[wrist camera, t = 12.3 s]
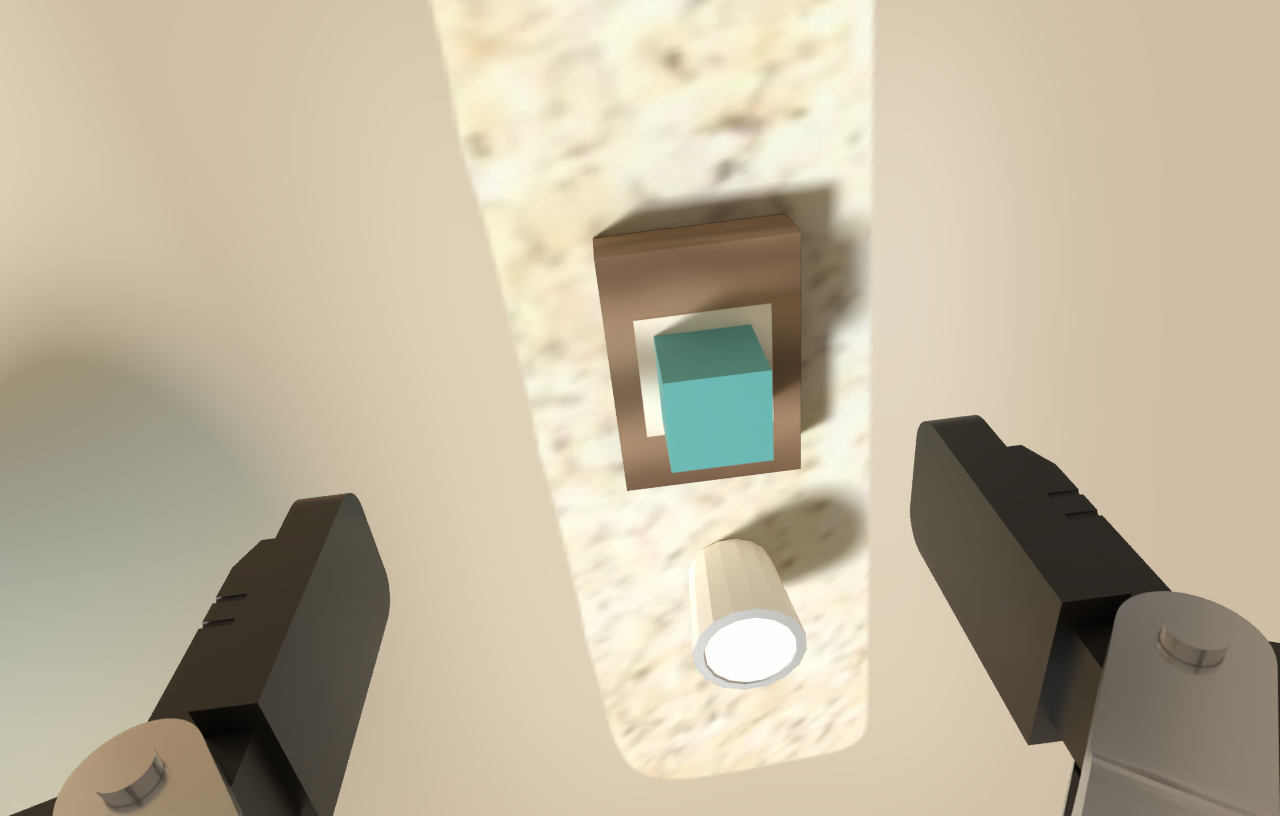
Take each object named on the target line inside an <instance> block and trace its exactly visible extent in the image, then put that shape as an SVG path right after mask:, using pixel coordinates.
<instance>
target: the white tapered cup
mask: <svg viewBox="0 0 1280 816" xmlns="http://www.w3.org/2000/svg"><path fill="white" fill-rule="evenodd" d="M689 585H690V606H691V626H692V646H693V656H694V661H695V667H696V668H697V670H698V671H699V672H700V673H701V674H702V675H703V676H704V678H705V679H706V680H708V681H710V682H712V683H715V684H717V685H719V686H721V687H724V688H733V689H743V690H745V689H751V688H757V687H763V686H767V685H769V684H771V683H773V682H775V681H778V680H780V679H782V678H784V677H786V676H787V675H788V674H789V673H790V672H791V671H792V670H793V669H794V668H796V667H797V666H798V665H799V664H800V662H801V659H802V657H803V655H804V653H805V651H806V649H807V648H806V635H805V631H804V629H803V627H802V625H801V623H800V621H799V618H798V616H797V614H796V612H795V610H794V608H793V605H792V603H791V601H790V599H789V597H788V595H787V592H786V590H785V588H784V586H783V584H782V582H781V579H780V577H779V575H778V573H777V571H776V569H775V567H774V564H773V562H772V560H771V558H770V557H769V555H768V554H767V552H766V551H765V550H764V548H763V547H761V546H759V545H757V544H755V543H754V542H752V541H748V540H741V539H729V540H723V541H718V542H716V543H714V544H712V545H710V546H708V547H706V548H704V549H703V550H702V551H701V552H700V553H699V554H698V555H697V556H696V557H695V558H694V559H693V562H692V564H691V567H690V570H689Z"/></svg>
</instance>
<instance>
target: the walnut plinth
mask: <svg viewBox="0 0 1280 816" xmlns="http://www.w3.org/2000/svg"><path fill="white" fill-rule="evenodd" d="M593 249H594V262H595V269H596V276H597V283H598V290H599V297H600V304H601V311H602V318H603V325H604V332H605V339H606V346H607V353H608V360H609V367H610V374H611V381H612V388H613V395H614V402H615V409H616V416H617V423H618V430H619V437H620V444H621V451H622V458H623V465H624V472H625V479H626V486H627V491H630V490H638V489H646V488H654V487H662V486H669V485H677V484H685V483H693V482H701V481H709V480H716V479H724V478H732V477H740V476H748V475H756V474H764V473H771V472H779V471H787V470H795V469H801V232H800V231H799V229H798V228H797V227H796V226H795V224H794V223H793V222H792V220H791V219H790V218H789V216H788V215H787V214H780V215H772V216H764V217H756V218H748V219H740V220H732V221H724V222H716V223H708V224H700V225H692V226H684V227H677V228H669V229H661V230H653V231H645V232H637V233H629V234H621V235H613V236H605V237H597V238H593ZM749 324H751V325H752V327H753V330H754V332H755V334H756V336H757V338H758V341H759V343H760V345H761V347H762V349H763V352H764V354H765V356H766V358H767V360H768V363H769V365H770V367H771V369H772V398H773V451H774V460H771V461H763V462H755V463H747V464H739V465H731V466H723V467H715V468H707V469H699V470H691V471H683V472H675V473H672V471H671V465H670V460H669V454H668V449H667V443H666V438H665V432H664V426H663V421H662V412H661V403H660V393H659V384H658V374H657V365H656V355H655V345H654V336H660V335H668V334H676V333H684V332H692V331H700V330H708V329H716V328H724V327H732V326H740V325H749Z"/></svg>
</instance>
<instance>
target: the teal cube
mask: <svg viewBox="0 0 1280 816" xmlns="http://www.w3.org/2000/svg"><path fill="white" fill-rule="evenodd" d="M654 345H655V355H656V365H657V374H658V384H659V393H660V403H661V412H662V421H663V426H664V432H665V438H666V443H667V449H668V454H669V460H670V465H671V471H672V473H675V472H683V471H691V470H699V469H707V468H715V467H723V466H731V465H739V464H747V463H755V462H763V461H771V460H774V451H773V398H772V369H771V367H770V365H769V363H768V360H767V358H766V356H765V354H764V352H763V349H762V347H761V345H760V343H759V341H758V338H757V336H756V334H755V332H754V330H753V327H752V325H751V324H749V325H740V326H732V327H724V328H716V329H708V330H700V331H692V332H684V333H676V334H668V335H660V336H654Z"/></svg>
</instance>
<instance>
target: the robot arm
mask: <svg viewBox="0 0 1280 816" xmlns="http://www.w3.org/2000/svg"><path fill="white" fill-rule="evenodd" d="M913 471H914V472H913V481H912V493H911V503H910V504H911V505H910V518H911V526H912V531H913V535H914V539H915V542H916V545H917V547H918V549H919V551H920V553H921V555H922V557H923V559H924V560H925V562H926V564H927V566H928V568H929V569H930V571H931V573H932V575H933V576H934V578H935V580H936V582H937V583H938V585H939V587H940V589H941V591H942V593H943V594H944V596H945V598H946V600H947V601H948V603H949V605H950V607H951V608H952V610H953V612H954V614H955V616H956V618H957V619H958V621H959V623H960V625H961V626H962V628H963V630H964V632H965V633H966V635H967V637H968V639H969V641H970V642H971V644H972V646H973V648H974V649H975V651H976V653H977V654H978V657H979V658H980V660H981V662H982V664H983V666H984V667H985V669H986V670H987V673H988V674H989V676H990V678H991V680H992V682H993V683H994V685H995V687H996V689H997V690H998V692H999V694H1000V696H1001V698H1002V699H1003V701H1004V703H1005V705H1006V707H1007V708H1008V710H1009V712H1010V714H1011V715H1012V717H1013V719H1014V721H1015V722H1016V724H1017V726H1018V728H1019V730H1020V732H1021V733H1022V735H1023V737H1024V739H1025V740H1026V742H1027V744H1028V745H1034V744H1042V743H1049V742H1057V741H1063V742H1064V743H1065V745H1066V747H1067V749H1068V750H1069V752H1070V754H1071V755H1072V757H1073V758H1074V762H1073V765H1072V769H1071V773H1070V777H1069V781H1068V786H1067V791H1066V795H1065V800H1064V805H1063V810H1062V814H1061V816H1280V643H1276V642H1269V641H1267V639H1266V638H1265V637H1264V636H1263V635H1262V633H1261V632H1260V631H1259V630H1258V629H1257V628H1256V627H1254V626H1253V625H1252V624H1251V623H1249V622H1248V621H1247V620H1246V619H1244V618H1243V617H1241V616H1240V615H1238V614H1237V613H1235V612H1233V611H1231V610H1230V609H1228V608H1226V607H1224V606H1222V605H1219V604H1217V603H1215V602H1212V601H1210V600H1207V599H1204V598H1201V597H1198V596H1194V595H1189V594H1185V593H1179V592H1172V591H1171V590H1170V589H1169V588H1168V587H1167V586H1166V584H1165V583H1164V582H1163V581H1162V580H1161V579H1160V578H1159V577H1158V576H1157V575H1156V574H1155V572H1154V571H1153V570H1152V569H1151V568H1150V567H1149V566H1148V565H1147V564H1146V563H1145V562H1144V560H1143V559H1142V558H1141V557H1140V556H1139V555H1138V554H1137V553H1136V552H1135V551H1134V550H1133V548H1132V547H1131V546H1130V545H1129V544H1128V543H1127V542H1126V541H1125V540H1124V539H1123V538H1122V537H1121V535H1120V534H1119V533H1118V532H1117V531H1116V530H1115V529H1114V528H1113V527H1112V525H1111V524H1110V523H1109V522H1108V521H1107V520H1106V519H1105V518H1104V517H1103V516H1102V515H1101V516H1099V515H1098V513H1097V509H1096V508H1095V507H1094V506H1093V505H1092V504H1091V503H1090V501H1089V500H1088V499H1087V498H1086V497H1085V496H1084V495H1083V494H1082V495H1080V494H1079V492H1078V488H1077V487H1076V486H1075V485H1074V484H1073V483H1072V482H1071V481H1070V480H1069V478H1068V477H1067V476H1066V475H1065V474H1064V473H1063V472H1062V471H1061V470H1060V469H1059V468H1058V467H1057V466H1056V464H1054V463H1052V462H1051V461H1049V460H1047V459H1045V458H1043V457H1042V456H1040V455H1038V454H1036V453H1035V452H1033V451H1031V450H1029V449H1028V448H1026V447H1024V446H1022V445H1017V446H1009V447H1007V446H1006V445H1005V444H1004V443H1003V442H1002V441H1001V439H1000V438H999V437H998V436H997V435H996V433H995V432H994V431H993V430H992V429H991V428H990V426H989V425H988V424H987V423H986V422H985V420H984V419H982V418H981V417H980V416H978V415H971V416H964V417H956V418H948V419H940V420H932V421H924V422H922V423H921V424H920V426H919V428H918V432H917V438H916V450H915V460H914V470H913ZM389 607H390V592H389V583H388V578H387V574H386V571H385V568H384V566H383V563H382V560H381V557H380V555H379V552H378V549H377V546H376V544H375V541H374V538H373V535H372V533H371V530H370V527H369V525H368V522H367V519H366V516H365V514H364V511H363V508H362V506H361V503H360V501H359V500H358V498H357V497H356V496H355V495H354V494H352V493H346V494H339V495H331V496H323V497H315V498H307V499H299V500H297V501H295V502H294V503H293V505H292V506H291V508H290V510H289V512H288V514H287V516H286V518H285V520H284V522H283V524H282V526H281V528H280V530H279V532H278V534H277V536H276V538H274V539H267V540H261V541H260V542H259V543H258V544H257V545H256V546H255V547H254V548H253V549H252V550H250V551H249V552H248V553H247V554H246V555H245V556H244V557H243V558H242V559H241V560H240V561H239V562H238V563H237V564H236V565H235V566H234V567H233V568H232V569H231V571H230V573H229V575H228V577H227V578H226V580H225V582H224V584H223V586H222V587H221V589H220V591H219V593H218V595H217V596H216V603H214V604H212V606H211V607H210V609H209V611H208V613H207V615H206V617H205V618H204V620H203V622H202V623H203V628H202V629H198V631H197V633H196V635H195V637H194V638H193V640H192V642H191V644H190V646H189V648H188V649H187V651H186V653H185V655H184V657H183V659H182V660H181V662H180V664H179V666H178V668H177V669H176V671H175V673H174V675H173V677H172V679H171V680H170V682H169V684H168V686H167V688H166V689H165V691H164V693H163V695H162V697H161V698H160V700H159V702H158V704H157V706H156V708H155V709H154V711H153V713H152V715H151V717H150V718H149V720H148V722H146V723H143V724H140V725H138V726H135V727H133V728H130V729H128V730H126V731H124V732H122V733H120V734H118V735H117V736H115V737H113V738H112V739H110V740H109V741H107V742H105V743H104V744H103V745H101V746H100V747H99V748H97V749H96V750H95V751H94V752H92V753H91V754H90V755H89V756H88V757H87V758H86V759H85V760H84V761H82V763H81V764H80V765H79V766H78V767H77V768H76V769H75V770H74V771H73V773H72V774H71V775H70V777H69V778H68V779H67V781H66V782H65V784H64V785H63V787H62V789H61V791H60V793H59V795H58V797H56V798H54V799H51V800H48V801H46V802H43V803H41V804H38V805H35V806H33V807H31V808H28V809H25V810H23V811H20V812H18V813H15V814H12V815H10V816H333V813H334V809H335V806H336V803H337V799H338V795H339V792H340V788H341V785H342V781H343V777H344V774H345V770H346V767H347V763H348V760H349V756H350V753H351V749H352V745H353V742H354V738H355V734H356V731H357V727H358V724H359V720H360V716H361V713H362V709H363V705H364V702H365V699H366V695H367V691H368V688H369V684H370V681H371V677H372V673H373V669H374V666H375V663H376V659H377V655H378V652H379V648H380V645H381V641H382V637H383V634H384V630H385V626H386V623H387V620H388V615H389Z"/></svg>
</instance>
